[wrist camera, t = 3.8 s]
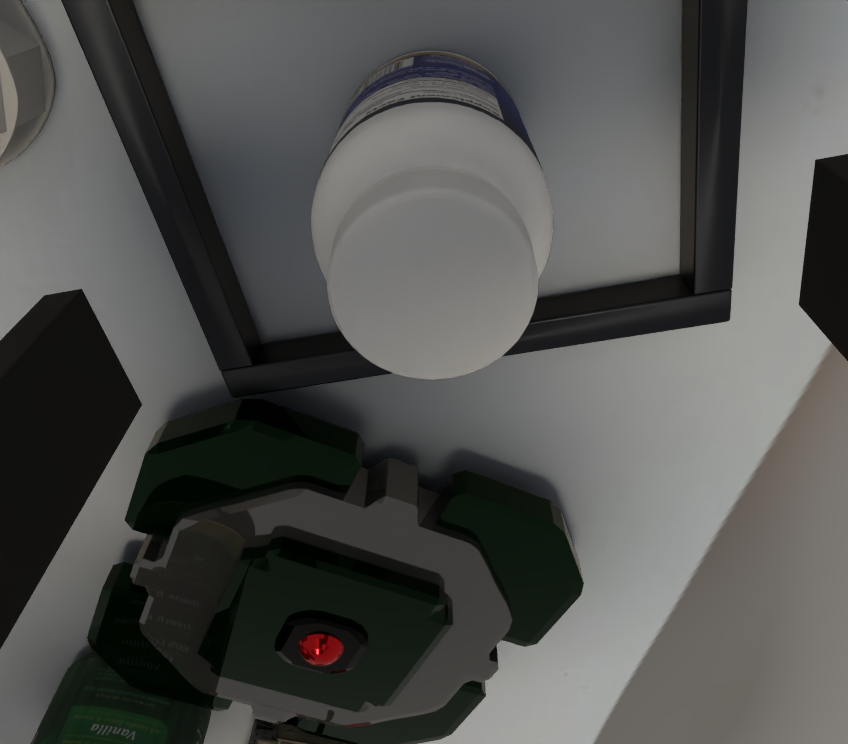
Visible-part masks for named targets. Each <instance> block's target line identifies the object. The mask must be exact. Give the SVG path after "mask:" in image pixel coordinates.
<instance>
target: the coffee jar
mask: <svg viewBox="0 0 848 744" xmlns="http://www.w3.org/2000/svg"><path fill="white" fill-rule="evenodd" d="M210 715H211V709H208V708H204V707H200V706H196V705H192V704H188V703H184V702H180V701H176V700H172V699H168V698H164V697H160V696H156V695H152V694H148V693H144V692H141V691H139V690H137V689H136V688H134V687H132V686H130V685H129V684H128V683H127V682H126V681H125V680H123V679H122V678H121V677H120V676H119V675H118V674H117V673H116V672H115V671H114V670H113V669H112V668H111V667H110V666H109V665H108V664H107V663H106V662H105V661H104V660H103V659H102V658H101V657H100V656H99V655H98V654H90V655H86V656H84V657H82V658H80V659H78V660H77V661H76V662H74V663H73V664H72V665H71V666H70V667H69V668H68V670H67V672H66V673H65V675H64V677H63V679H62V681H61V683H60V685H59V687H58V689H57V691H56V693H55V695H54V697H53V699H52V701H51V703H50V705H49V707H48V709H47V711H46V713H45V715H44V717H43V719H42V721H41V724H40V726H39V728H38V730H37V732H36V734H35V736H34V738H33V740H32V742H31V744H203V742H204V738H205V735H206V731H207V727H208V724H209V720H210Z"/></svg>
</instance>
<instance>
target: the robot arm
mask: <svg viewBox="0 0 848 744" xmlns="http://www.w3.org/2000/svg"><path fill="white" fill-rule="evenodd" d="M799 305H800V307H801V308H802V309H803V310H804V311H805V312H806V313H807V315H808V316H809V317H810V318H811V319H812V320H813V322H814V323H815V324H816V325H817V326H818V327H819V329H820V330H821V331H822V332H823V333H824V334H825V335H826V337H827V338H828V339H829V340H830V341H831V342H832V344H833V345H834V346H835V347H836V348H837V349H838V351H839V352H840V353H841V354H842V355H843V356H844V357H845V358H846V360H847V361H848V154H846V155H840V156H834V157H829V158H823V159H817V160H815V169H814V177H813V186H812V195H811V203H810V212H809V221H808V229H807V238H806V247H805V255H804V264H803V273H802V281H801V290H800V299H799ZM141 406H142V404H141V402H140V400H139V398H138V396H137V394H136V392H135V390H134V388H133V386H132V384H131V382H130V381H129V379H128V377H127V375H126V373H125V371H124V369H123V367H122V365H121V363H120V361H119V359H118V358H117V356H116V354H115V352H114V350H113V348H112V346H111V344H110V342H109V340H108V338H107V336H106V335H105V333H104V331H103V329H102V327H101V325H100V323H99V321H98V319H97V317H96V315H95V313H94V312H93V310H92V308H91V306H90V304H89V302H88V300H87V298H86V296H85V294H84V292H83V290H82V289H79V290H73V291H67V292H62V293H56V294H50V295H45V296H43V298H42V299H41V300H40V301H39V302H38V303H37V304H36V305H35V306H34V307H33V308H32V309H31V310H30V311H29V312H28V313H27V314H26V315H25V316H24V317H23V318H22V319H21V320H20V321H19V322H18V323H17V324H16V325H15V326H14V327H13V328H12V329H11V330H10V331H9V332H8V333H7V334H6V335H5V336H4V337H3V338H2V339H1V341H0V649H1V647H2V645H3V644H4V642H5V640H6V638H7V637H8V635H9V633H10V631H11V630H12V628H13V626H14V625H15V623H16V621H17V619H18V618H19V616H20V614H21V613H22V611H23V609H24V607H25V606H26V604H27V602H28V600H29V599H30V597H31V595H32V594H33V592H34V590H35V588H36V587H37V585H38V583H39V581H40V580H41V578H42V576H43V575H44V573H45V571H46V569H47V568H48V566H49V564H50V563H51V561H52V559H53V557H54V556H55V554H56V552H57V550H58V549H59V547H60V545H61V544H62V542H63V540H64V538H65V537H66V535H67V533H68V531H69V530H70V528H71V526H72V525H73V523H74V521H75V519H76V518H77V516H78V514H79V513H80V511H81V509H82V507H83V506H84V504H85V502H86V500H87V499H88V497H89V495H90V494H91V492H92V490H93V488H94V487H95V485H96V483H97V481H98V480H99V478H100V476H101V475H102V473H103V471H104V469H105V468H106V466H107V464H108V463H109V461H110V459H111V457H112V456H113V454H114V452H115V450H116V449H117V447H118V445H119V444H120V442H121V440H122V438H123V437H124V435H125V433H126V431H127V430H128V428H129V426H130V425H131V423H132V421H133V419H134V418H135V416H136V414H137V413H138V411H139V409H140V407H141Z"/></svg>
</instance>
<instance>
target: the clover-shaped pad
mask: <svg viewBox="0 0 848 744" xmlns="http://www.w3.org/2000/svg"><path fill="white" fill-rule="evenodd" d="M363 450H364V443H363V441H362V439H361V437H360V436H359V434H358V433H356V432H353V431H350V430H347V429H345V428H342V427H339V426H336V425H333V424H331V423H328V422H325V421H322V420H319V419H317V418H314V417H311V416H308V415H305V414H303V413H300V412H297V411H294V410H291V409H289V408H286V407H283V406H280V405H277V404H275V403H272V402H269V401H266V400H263V399H240V400H236V401H233V402H230V403H227V404H224V405H220V406H217V407H214V408H211V409H207V410H204V411H201V412H198V413H194V414H191V415H188V416H184V417H181V418H178V419H175V420H171V421H168V422H167V423H166V424H165V425H164V426H163V427H161V428H160V429H159V430H158V431H157V432H156V434H155V436H154V438H153V440H152V442H151V444H150V446H149V447H148V449H147V451H146V453H145V456H144V459H143V463H142V466H141V469H140V472H139V476H138V479H137V482H136V485H135V488H134V492H133V495H132V498H131V501H130V505H129V508H128V511H127V514H126V517H125V521H126V522H127V523H128V525H129V526H130V527H131V528H132V529H133V530H135V531H139V532H142V533H145V534H147V536H146V538H145V540H144V543H143V545H142V547H141V549H140V551H139V554H138V556H137V558H136V560H135V563H134V565H133V564H129V563H126V562H123V563H119V564H116V565H113V567H112V569H111V571H110V573H109V575H108V578H107V580H106V582H105V584H104V586H103V588H102V591H101V594H100V597H99V601H98V604H97V607H96V610H95V614H94V617H93V620H92V623H91V627H90V630H89V633H88V636H87V639H88V642H89V644H90V647H91V648H92V649H93V650H94V651H95V652H96V653H97V654H98V655H99V656H100V657H101V658H102V659H103V660H104V661H105V662H106V663H107V664H108V665H109V666H110V667H111V668H112V669H113V670H114V671H115V672H116V673H117V674H118V675H119V676H120V677H121V678H122V679H123V680H125V681H126V682H127V683H128V684H129V685H130V686H132V687H134V688H136V689H137V690H139V691H141V692H144V693H148V694H152V695H156V696H160V697H164V698H168V699H172V700H176V701H180V702H184V703H188V704H192V705H196V706H200V707H204V708H208V709H212V710H216V711H221V710H226V709H228V708H229V707H230V705H231V703H232V701H237V702H241V703H245V704H249V705H251V706H252V708H253V712H252V713H253V715H254V718H255V719H259V720H263V721H267V722H271V723H275V724H281V723H284V722H286V721H287V720H288V719H290V718H293V717H295V716H296V717H298V723H297V727H298V728H299V729H300V731H301V732H303V733H307V734H311V735H315V736H319V737H323V738H327V739H331V740H335V741H339V742H343V743H347V744H417V743H423V742H428V741H434V740H439V739H442V738H444V737H446V736H449V735H451V734H452V733H453V732H454V731H455V730H456V729H457V727H458V726H459V725H460V724H461V723H462V722H463V721H464V720H465V719H466V717H467V716H468V715H469V714H470V713H471V712H472V711H473V710H474V709H475V707H476V706H477V705H478V704H479V703H480V702H481V701H482V700H483V699H484V697H485V696H486V692H485V681H486V680H488V679H490V678H491V677H492V676H493V674H494V673H495V672H496V671H497V670H498V658H497V646H496V645H497V644H498V643H499V642H500V640H504V641H507V642H511V643H514V644H517V645H521V646H524V647H525V646H530V645H534V644H537V643H538V642H539V641H540V640H541V639H542V637H543V636H544V635H545V634H546V633H547V632H548V631H549V630H550V629H551V627H552V626H553V625H554V624H555V623H556V622H557V621H558V620H559V619H560V618H561V616H562V615H563V614H564V613H565V612H566V611H567V610H568V609H569V608H570V606H571V605H572V604H573V603H574V602H575V601H576V600H577V599H578V598H579V596H580V595H581V592H582V588H583V584H584V582H583V578H582V573H581V568H580V564H579V559H578V557H577V554H576V551H575V548H574V546H573V543H572V540H571V537H570V535H569V532H568V529H567V526H566V523H565V521H564V518H563V515H562V512H561V510H560V509H559V508H558V507H557V506H556V505H554V504H553V503H552V502H551V501H550V500H547V499H545V498H542V497H539V496H536V495H533V494H531V493H528V492H525V491H522V490H519V489H517V488H514V487H511V486H508V485H505V484H503V483H500V482H497V481H494V480H491V479H489V478H486V477H483V476H480V475H478V474H475V473H472V472H469V471H462V472H458V473H454V474H452V475H451V477H450V479H449V480H448V482H447V483H446V485H445V486H444V488H443V489H442V491H441V492H440V494H438V493H435V492H432V491H429V490H426V489H423V488H420V487H419V472H418V467H415V466H412V465H409V464H406V463H404V462H401V461H398V460H395V459H392V458H387V459H385V460H383V461H381V462H380V463H379V464H378V465H376V466H374V467H372V468H371V469H369V470H368V469H365V468H363V467H361V465H362V458H363Z"/></svg>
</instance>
